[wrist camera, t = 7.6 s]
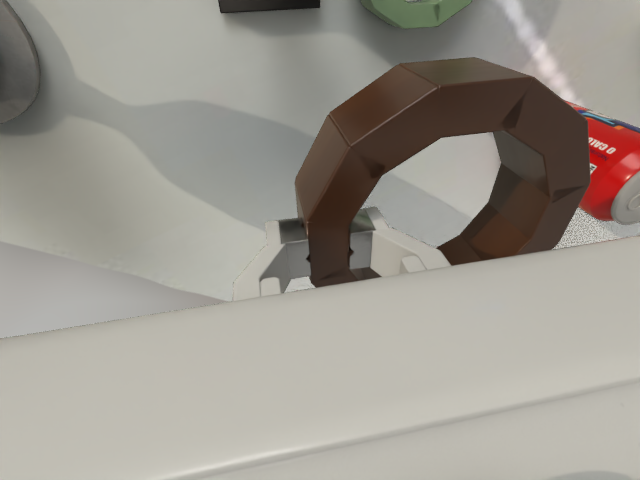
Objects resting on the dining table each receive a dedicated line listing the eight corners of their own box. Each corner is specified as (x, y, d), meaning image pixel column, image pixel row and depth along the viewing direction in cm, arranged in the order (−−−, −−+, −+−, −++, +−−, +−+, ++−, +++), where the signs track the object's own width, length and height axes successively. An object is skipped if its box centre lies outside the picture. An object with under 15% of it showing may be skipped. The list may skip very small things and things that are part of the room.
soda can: (490, 126, 38) (602, 190, 26) (557, 79, 36) (709, 126, 24) (508, 173, 42) (609, 246, 31) (568, 134, 40) (700, 196, 29)
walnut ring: (574, 48, 13) (654, 65, 10) (491, 263, 20) (526, 304, 17) (284, 72, 11) (295, 98, 9) (305, 293, 18) (314, 343, 16)
